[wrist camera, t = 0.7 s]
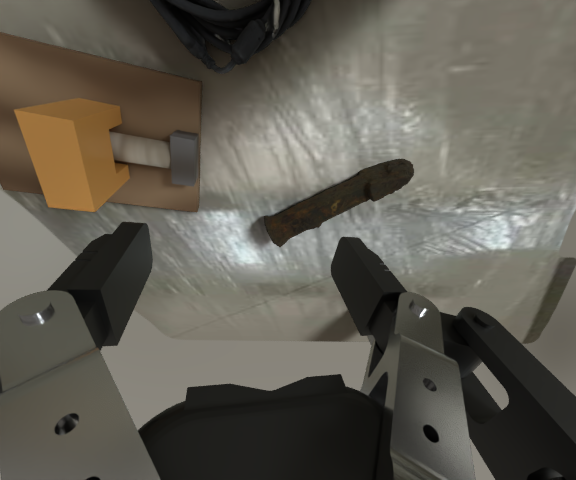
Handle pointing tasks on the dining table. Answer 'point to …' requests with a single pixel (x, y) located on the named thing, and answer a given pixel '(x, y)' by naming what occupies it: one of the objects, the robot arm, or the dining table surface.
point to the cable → (229, 26)
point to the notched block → (73, 152)
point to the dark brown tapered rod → (339, 199)
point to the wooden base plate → (124, 138)
